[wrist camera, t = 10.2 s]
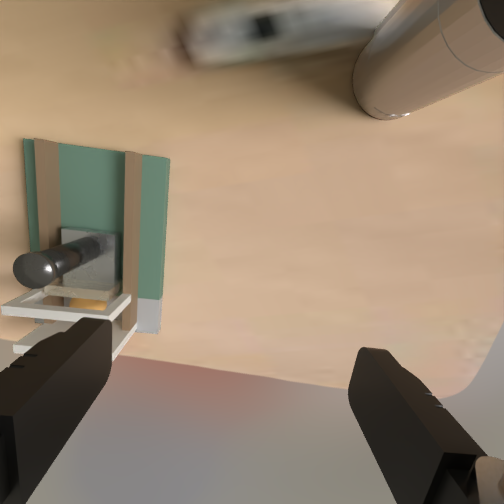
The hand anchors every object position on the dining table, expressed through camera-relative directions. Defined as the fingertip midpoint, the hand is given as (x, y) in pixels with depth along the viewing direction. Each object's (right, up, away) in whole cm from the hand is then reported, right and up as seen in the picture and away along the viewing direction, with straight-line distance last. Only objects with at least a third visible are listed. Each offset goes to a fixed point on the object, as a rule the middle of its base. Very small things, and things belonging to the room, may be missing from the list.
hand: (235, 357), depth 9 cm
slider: (-19, +3, +25) cm, 32 cm away
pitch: (-19, +5, +26) cm, 33 cm away
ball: (-20, -3, +25) cm, 32 cm away
